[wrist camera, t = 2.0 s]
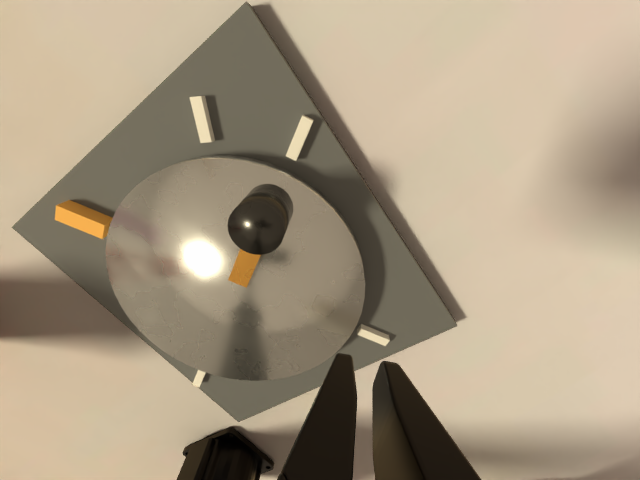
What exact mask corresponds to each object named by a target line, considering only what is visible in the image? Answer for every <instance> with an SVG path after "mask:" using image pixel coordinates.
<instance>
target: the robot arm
mask: <svg viewBox="0 0 640 480" xmlns="http://www.w3.org/2000/svg"><path fill="white" fill-rule="evenodd" d="M356 412H357V391H356V382H355V373H354V365H353V358H352V356H351V355H348V354H343V353H337V354H336V356H335V358H334V360H333V362H332V364H331V366H330V368H329V370H328V373H327V375H326V377H325V379H324V381H323V383H322V385H321V387H320V390H319V392H318V394H317V396H316V398H315V400H314V402H313V405H312V407H311V409H310V411H309V413H308V415H307V417H306V419H305V422H304V424H303V426H302V428H301V430H300V432H299V434H298V437H297V439H296V441H295V443H294V445H293V447H292V449H291V452H290V454H289V456H288V458H287V460H286V462H285V464H284V466H283V469H282V471H281V474H280V475H279V477H278V479H277V480H352V477H353V461H354V445H355V429H356ZM183 455H184V456H185V457H186V459H185V461H184V463H183V466H182V468H181V471H180V473H179V475H178V478H177V480H259V479H260V474H262V473H265V472H268V471H270V470H272V469H273V467H274V462H273V461H272V460H270V459H269V458H268V457H267V456H266V455H265V454H263V453H262V452H261V451H260V450H259V449H257V448H256V447H255V446H254V445H253V444H251V443H250V442H249V441H248V440H247V439H246V438H244V437H243V436H242V435H241V434H240V433H238V432H237V431H236V430H235V429H232V428H228V429H226V430H223V431H221V432H219V433H216V434H214V435H212V436H210V437H207V438H205V439H203V440H200V441H198V442H196V443H194V444H191V445H189V446H187V447H185V448H184V451H183ZM373 462H374V472H375V480H481V478H480V477H479V476H478V474H477V473H476V471H475V470H474V469H473V467H472V466H471V464H470V463H469V462H468V460H467V459H466V457H465V456H464V455H463V453H462V452H461V450H460V449H459V448H458V446H457V445H456V444H455V442H454V441H453V439H452V438H451V437H450V435H449V434H448V432H447V431H446V430H445V428H444V427H443V425H442V424H441V423H440V421H439V420H438V418H437V417H436V416H435V414H434V413H433V411H432V410H431V409H430V407H429V406H428V404H427V403H426V402H425V400H424V399H423V397H422V396H421V395H420V393H419V392H418V390H417V389H416V388H415V386H414V385H413V384H412V382H411V381H410V379H409V378H408V377H407V375H406V374H405V372H404V371H403V370H402V368H401V367H400V365H398V364H397V363H393V362H388V361H383V362H381V364H380V366H379V369H378V372H377V375H376V377H375V380H374V383H373Z"/></svg>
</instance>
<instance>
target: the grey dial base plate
mask: <svg viewBox="0 0 640 480" xmlns="http://www.w3.org/2000/svg"><path fill="white" fill-rule="evenodd" d="M210 155H232V156H240V157H249V158H253V159H257V160H260V161H264V162H268V163H271V164H273V165H276V166H278V167H281V168H283V169H286V170H288V171H290V172H291V173H293V174H295V175H297V176H299V177H300V178H302V179H304V180H305V181H307V182H308V183H309V184H311V185H312V186H314V187H315V188H316V189H318V190H319V191H320V192H321V193H322V194H323V195H324V196H325V197H326V198H327V199H329V200H330V201H331V202H332V203H333V205H334V206H335V207H336V208H337V209H338V211H339V212H340V213H341V214H342V216H343V217H344V219H345V220H346V222H347V223H348V225H349V227H350V228H351V230H352V232H353V234H354V237H355V239H356V241H357V243H358V246H359V249H360V253H361V257H362V261H363V268H364V277H365V299H364V304H363V309H362V313H361V316H360V318H359V321H358V323H357V326H356V327H355V329H354V331H353V333H352V334H351V336H350V337H349V339H348V340H347V341H346V342H345V344H344V345H343V346H342V347H341V348H340V349H339V350H338V351H337V352H336V353H335V354H334V355H333V356H331V357H330V358H329V359H327V360H326V361H324V362H323V363H321V364H320V365H318V366H316V367H314V368H312V369H310V370H308V371H305V372H303V373H300V374H297V375H294V376H290V377H286V378H281V379H275V380H263V381H248V380H237V379H229V378H225V377H220V376H216V375H212V374H209V373H206V372H203V371H200V370H198V369H195V368H193V367H190V366H188V365H186V364H184V363H182V362H180V361H178V360H176V359H175V358H173V357H171V356H170V355H168V354H167V353H165V352H164V351H162V350H161V349H160V348H158V347H157V346H156V345H154V344H153V343H152V342H151V341H150V340H148V339H147V338H146V337H145V336H144V335H143V334H142V333H141V332H140V331H139V330H138V329H137V327H136V326H135V325H134V324H133V323H132V321H131V320H130V319H129V318H128V316H127V315H126V313H125V312H124V310H123V309H122V307H121V305H120V303H119V301H118V300H117V298H116V296H115V294H114V291H113V288H112V285H111V283H110V280H109V275H108V271H107V266H106V240H107V234H108V231H109V227H110V223H111V221H112V218H113V216H114V214H115V212H116V210H117V208H118V207H119V205H120V204H121V202H122V201H123V199H124V198H125V197H126V196H127V194H128V193H129V192H130V191H131V190H132V189H133V188H134V187H135V186H136V185H138V184H139V183H140V182H142V181H143V180H145V179H146V178H147V177H149V176H150V175H152V174H154V173H156V172H158V171H160V170H162V169H164V168H167V167H169V166H171V165H173V164H175V163H179V162H182V161H185V160H188V159H192V158H197V157H204V156H210ZM12 228H13V229H14V230H15V231H17V232H18V233H19V234H20V235H21V236H22V237H24V238H25V239H26V240H27V241H28V242H29V243H31V244H32V245H33V246H34V247H35V248H36V249H38V250H39V251H40V252H41V253H42V254H43V255H45V256H46V257H47V258H48V259H49V260H50V261H52V262H53V263H54V264H55V265H56V266H57V267H59V268H60V269H61V270H62V271H63V272H64V273H66V274H67V275H68V276H69V277H70V278H71V279H73V280H74V281H75V282H76V283H77V284H78V285H79V286H81V287H82V288H83V289H84V290H85V291H86V292H88V293H89V294H90V295H91V296H92V297H93V298H95V299H96V300H97V301H98V302H99V303H100V304H102V305H103V306H104V307H105V308H106V309H107V310H109V311H110V312H111V313H112V314H113V315H114V316H116V317H117V318H118V319H119V320H120V321H121V322H123V323H124V324H125V325H126V326H127V327H128V328H130V329H131V330H132V331H133V332H134V333H135V334H137V335H138V336H139V337H140V338H141V339H142V340H144V341H145V342H146V343H147V344H148V345H149V346H151V347H152V348H153V349H154V350H155V351H156V352H157V353H159V354H160V355H161V356H162V357H163V358H164V359H166V360H167V361H168V362H169V363H170V364H171V365H173V366H174V367H175V368H176V369H177V370H178V371H180V372H181V373H182V374H183V375H184V376H185V377H187V378H188V379H189V380H190V381H191V382H192V383H193V384H192V385H194V386H197V387H198V388H199V389H201V390H202V391H203V392H204V393H205V394H206V395H208V396H209V397H210V398H211V399H212V400H213V401H215V402H216V403H217V404H218V405H219V406H220V407H222V408H223V409H224V410H225V411H226V412H227V413H229V414H230V415H231V416H232V417H233V418H234V419H235V420H237V421H238V422H240V421H242V420H245V419H247V418H249V417H251V416H254V415H256V414H258V413H261V412H263V411H265V410H267V409H270V408H272V407H274V406H277V405H279V404H281V403H283V402H286V401H288V400H290V399H292V398H295V397H297V396H299V395H302V394H304V393H306V392H308V391H311V390H313V389H315V388H317V387H320V386H321V385H322V383H323V381H324V379H325V377H326V375H327V373H328V370H329V368H330V366H331V364H332V362H333V360H334V358H335V356H336V354H337V353H343V354H348V355H351V356H352V358H353V365H354V371H356V370H358V369H361V368H363V367H365V366H367V365H370V364H372V363H374V362H377V361H379V360H381V359H383V358H386V357H388V356H390V355H392V354H395V353H397V352H399V351H402V350H404V349H406V348H408V347H411V346H413V345H415V344H418V343H420V342H422V341H424V340H427V339H429V338H431V337H433V336H436V335H438V334H440V333H443V332H445V331H447V330H449V329H452V328H454V327H456V326H457V324H456V322H455V320H454V318H453V317H452V315H451V313H450V312H449V310H448V309H447V307H446V306H445V304H444V303H443V301H442V300H441V298H440V296H439V295H438V293H437V292H436V290H435V289H434V287H433V286H432V284H431V283H430V281H429V280H428V278H427V276H426V275H425V273H424V272H423V270H422V269H421V267H420V266H419V264H418V263H417V261H416V259H415V258H414V256H413V255H412V253H411V252H410V250H409V249H408V247H407V246H406V244H405V243H404V241H403V239H402V238H401V236H400V235H399V233H398V232H397V230H396V229H395V227H394V226H393V224H392V222H391V221H390V219H389V218H388V216H387V215H386V213H385V212H384V210H383V209H382V207H381V206H380V204H379V202H378V201H377V199H376V198H375V196H374V195H373V193H372V192H371V190H370V189H369V187H368V185H367V184H366V182H365V181H364V179H363V178H362V176H361V175H360V173H359V172H358V170H357V168H356V167H355V165H354V164H353V162H352V161H351V159H350V158H349V156H348V155H347V153H346V152H345V150H344V148H343V147H342V145H341V144H340V142H339V141H338V139H337V138H336V136H335V135H334V133H333V131H332V130H331V128H330V127H329V125H328V124H327V122H326V121H325V119H324V118H323V116H322V115H321V113H320V111H319V110H318V108H317V107H316V105H315V104H314V102H313V101H312V99H311V98H310V96H309V94H308V93H307V91H306V90H305V88H304V87H303V85H302V84H301V82H300V81H299V79H298V78H297V76H296V74H295V73H294V71H293V70H292V68H291V67H290V65H289V64H288V62H287V61H286V59H285V57H284V56H283V54H282V53H281V51H280V50H279V48H278V47H277V45H276V44H275V42H274V41H273V39H272V37H271V36H270V34H269V33H268V31H267V30H266V28H265V27H264V25H263V24H262V22H261V20H260V19H259V17H258V16H257V14H256V13H255V11H254V10H253V8H252V7H251V5H250V4H249V3H247V2H245V3H244V4H243V5H242V6H241V7H240V8H239V9H238V10H237V11H236V12H235V13H234V14H233V15H232V16H231V17H230V18H229V19H228V20H227V21H226V22H224V23H223V24H222V25H221V26H220V27H219V28H218V29H217V30H216V31H215V32H214V33H213V34H212V35H211V36H210V37H209V38H208V39H207V40H206V41H205V42H204V43H203V44H202V45H201V46H200V47H199V48H197V49H196V50H195V51H194V52H193V53H192V54H191V55H190V56H189V57H188V58H187V59H186V60H185V61H184V62H183V63H182V64H181V65H180V66H179V67H178V68H177V69H176V70H175V71H174V72H173V73H171V74H170V75H169V76H168V77H167V78H166V79H165V80H164V81H163V82H162V83H161V84H160V85H159V86H158V87H157V88H156V89H155V90H154V91H153V92H152V93H151V94H150V95H149V96H148V97H147V98H146V99H144V100H143V101H142V102H141V103H140V104H139V105H138V106H137V107H136V108H135V109H134V110H133V111H132V112H131V113H130V114H129V115H128V116H127V117H126V118H125V119H124V120H123V121H122V122H121V123H120V124H119V125H117V126H116V127H115V128H114V129H113V130H112V131H111V132H110V133H109V134H108V135H107V136H106V137H105V138H104V139H103V140H102V141H101V142H100V143H99V144H98V145H97V146H96V147H95V148H94V149H93V150H91V151H90V152H89V153H88V154H87V155H86V156H85V157H84V158H83V159H82V160H81V161H80V162H79V163H78V164H77V165H76V166H75V167H74V168H73V169H72V170H71V171H70V172H69V173H68V174H67V175H66V176H64V177H63V178H62V179H61V180H60V181H59V182H58V183H57V184H56V185H55V186H54V187H53V188H52V189H51V190H50V191H49V192H48V193H47V194H46V195H45V196H44V197H43V198H42V199H41V200H40V201H38V202H37V203H36V204H35V205H34V206H33V207H32V208H31V209H30V210H29V211H28V212H27V213H26V214H25V215H24V216H23V217H22V218H21V219H20V220H19V221H18V222H17V223H16V224H15V225H14V226H13V227H12Z"/></svg>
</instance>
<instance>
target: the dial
mask: <svg viewBox="0 0 640 480" xmlns="http://www.w3.org/2000/svg"><path fill="white" fill-rule="evenodd" d="M106 266H107V271H108V275H109V280H110V283H111V285H112V288H113V291H114V294H115V296H116V298H117V300H118V301H119V303H120V305H121V307H122V309H123V310H124V312H125V313H126V315H127V316H128V318H129V319H130V320H131V321H132V323H133V324H134V325H135V326H136V327H137V329H138V330H139V331H140V332H141V333H142V334H143V335H144V336H145V337H146V338H147V339H148V340H150V341H151V342H152V343H153V344H154V345H156V346H157V347H158V348H160V349H161V350H162V351H164V352H165V353H167V354H168V355H170V356H171V357H173V358H175V359H176V360H178V361H180V362H182V363H184V364H186V365H188V366H190V367H193V368H195V369H198V370H200V371H203V372H206V373H209V374H212V375H216V376H220V377H225V378H229V379H237V380H248V381H263V380H275V379H281V378H286V377H290V376H294V375H297V374H300V373H303V372H305V371H308V370H310V369H312V368H314V367H316V366H318V365H320V364H321V363H323V362H324V361H326V360H327V359H329V358H330V357H331V356H333V355H334V354H335V353H336V352H337V351H338V350H339V349H340V348H341V347H342V346H343V345H344V344H345V342H346V341H347V340H348V339H349V337H350V336H351V334H352V333H353V331H354V329H355V327H356V326H357V323H358V321H359V318H360V316H361V313H362V309H363V304H364V299H365V277H364V268H363V261H362V257H361V253H360V249H359V246H358V243H357V241H356V239H355V237H354V234H353V232H352V230H351V228H350V227H349V225H348V223H347V222H346V220H345V219H344V217H343V216H342V214H341V213H340V212H339V211H338V209H337V208H336V207H335V206H334V205H333V203H332V202H331V201H330V200H329V199H327V198H326V197H325V196H324V195H323V194H322V193H321V192H320V191H319V190H318V189H316V188H315V187H314V186H312V185H311V184H309V183H308V182H307V181H305V180H304V179H302V178H300V177H299V176H297V175H295V174H293V173H291V172H290V171H288V170H286V169H283V168H281V167H278V166H276V165H273V164H271V163H268V162H264V161H260V160H257V159H253V158H249V157H240V156H232V155H210V156H204V157H197V158H192V159H188V160H185V161H182V162H179V163H175V164H173V165H171V166H169V167H167V168H164V169H162V170H160V171H158V172H156V173H154V174H152V175H150V176H149V177H147V178H146V179H145V180H143V181H142V182H140V183H139V184H138V185H136V186H135V187H134V188H133V189H132V190H131V191H130V192H129V193H128V194H127V196H126V197H125V198H124V199H123V201H122V202H121V204H120V205H119V207H118V208H117V210H116V212H115V214H114V216H113V218H112V221H111V223H110V227H109V231H108V234H107V240H106Z"/></svg>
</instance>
